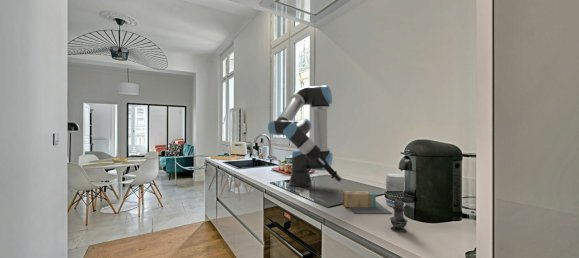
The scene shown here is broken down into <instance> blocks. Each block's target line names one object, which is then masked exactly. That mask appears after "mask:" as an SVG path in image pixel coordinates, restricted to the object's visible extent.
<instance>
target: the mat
mask: <svg viewBox="0 0 579 258" xmlns="http://www.w3.org/2000/svg"><path fill="white" fill-rule="evenodd" d="M349 209H350V210H351V211H352V212H353V213H354V214H357V215H392V214H393V213H392V212H391V211H389V210H388V209H387V208H386V207H384V206H383V205H382V204H381V203H379V202H378V201H377V200H376V207H349Z"/></svg>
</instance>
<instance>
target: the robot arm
mask: <svg viewBox="0 0 579 258" xmlns="http://www.w3.org/2000/svg"><path fill="white" fill-rule="evenodd" d="M332 103H333V94H332V91H331V87H330V86H328V85H313V86H304V87H301V88H299V89H297V90H296V91H295V92H294V93H293V94H292V95H291V97H290V99H289V102H288V104H287V105H286V106H285V108H283V110H282V112H281V113H280V115H279V116H278V118H276V120H270V121H269V122H268V123H267V124H268V125H267V130H268V134H270V135H276V136H285V137H286V139H288V141H289V142H291V143H292V144H293V145H294V146H295V147H296V148H297V149H298V150H293V152H292V153H291V156H292V157H291V174H290V178H289V181H288V185H290V186H292V187H299V188H303V187H311V186H312V185H313V182H312V176H311V174H310V171H311V170H315V171H326V172H327V173H328V174H329V175H330V178H331V179H334V180H335V182H336V183H338V184H339V185H340V186H341V187H342V188H344V187H345V186H346V185H347V182H346V181H345V180H344V179H343V178H342V177H341V176H340V174H338V172H337V170H334V169H333V168H332V165H333V157H334V156H333V152H331V151H330V148H329V147H328V110H329V108H330V105H332ZM307 105H308V106H309V105H310V107H311V109H312V110H313V140H312V139H311V138H310V137H309V136H308V135H307V134H309V132H310V130H311V129H312V123H311V121H310V120H309V119H308V118H300V119H299V120H294V118H295V117H296V115H297V113H298V112H299V111H300V109H301V108H303V107H304V106H307Z"/></svg>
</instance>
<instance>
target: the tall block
mask: <svg viewBox="0 0 579 258" xmlns="http://www.w3.org/2000/svg"><path fill="white" fill-rule="evenodd" d="M376 196H377V194H376V193H375V192H373V191H371V190H365V191H364V190H363V191H361V190H343V191H342V205H343V206H344V207H345V208H350V207H376V201H377V199H376Z"/></svg>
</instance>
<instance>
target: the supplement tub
mask: <svg viewBox="0 0 579 258" xmlns="http://www.w3.org/2000/svg"><path fill="white" fill-rule="evenodd" d="M404 175H405V174H403V173H402V174H401V173H386V175H385V176H386V177H385V193H386V192H387V191H404V182H405V176H404ZM385 203H386V204H387V206H389V207H393V208H394V202H393V201H390V200H387V199H386V198H385ZM403 208H405V207H404V203H403Z"/></svg>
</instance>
